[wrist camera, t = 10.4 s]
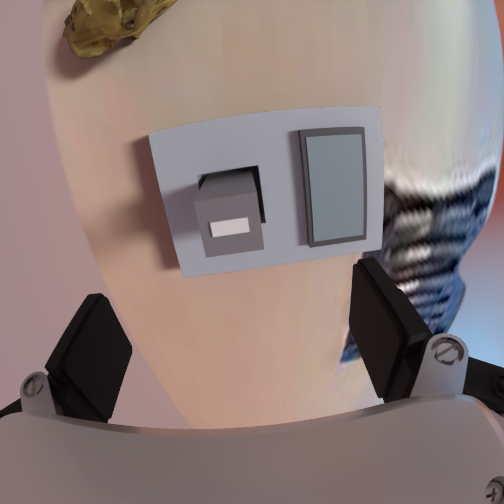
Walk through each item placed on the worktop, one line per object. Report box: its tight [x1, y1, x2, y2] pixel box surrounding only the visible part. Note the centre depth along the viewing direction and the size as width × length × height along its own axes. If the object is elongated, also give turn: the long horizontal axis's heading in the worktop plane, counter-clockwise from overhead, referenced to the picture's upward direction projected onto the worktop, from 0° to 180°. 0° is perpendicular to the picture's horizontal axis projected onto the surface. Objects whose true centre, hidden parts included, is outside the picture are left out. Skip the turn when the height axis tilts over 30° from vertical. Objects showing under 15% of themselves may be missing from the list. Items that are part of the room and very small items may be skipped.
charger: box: [194, 168, 264, 258], centre depth 22 cm, size 4×4×9 cm
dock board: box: [148, 107, 384, 278], centre depth 25 cm, size 20×14×4 cm
